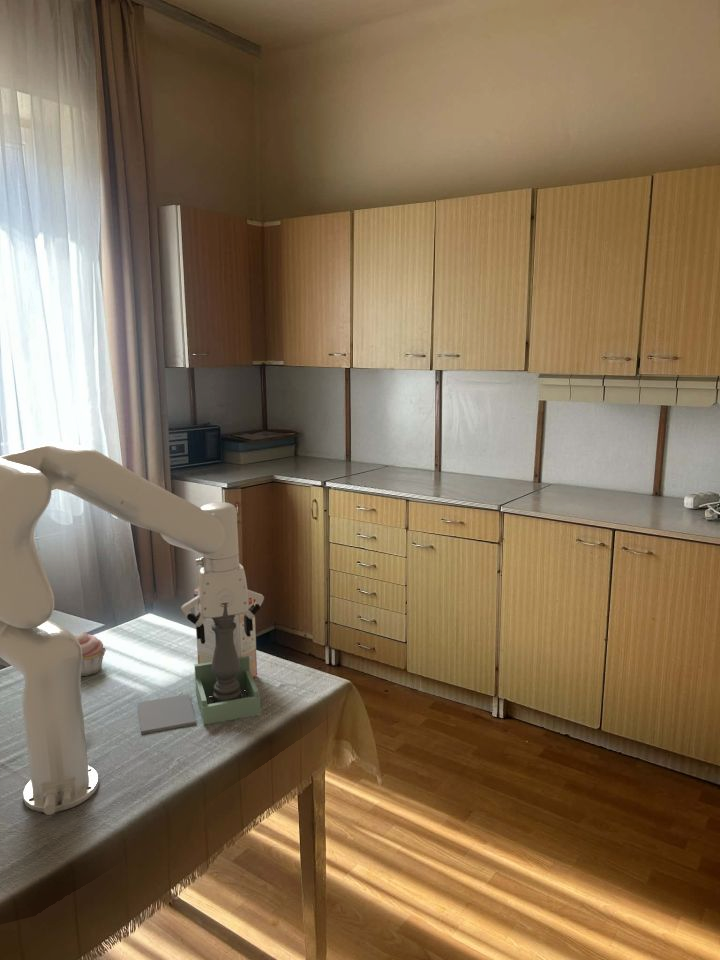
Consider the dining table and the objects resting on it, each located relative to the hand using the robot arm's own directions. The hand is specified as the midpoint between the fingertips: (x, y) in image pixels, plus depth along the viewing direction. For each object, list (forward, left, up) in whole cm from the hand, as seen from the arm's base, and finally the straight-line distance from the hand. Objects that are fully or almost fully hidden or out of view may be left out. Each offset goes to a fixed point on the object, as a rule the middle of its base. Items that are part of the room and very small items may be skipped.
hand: (225, 637), depth 156 cm
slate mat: (+1, +13, -16) cm, 21 cm away
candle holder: (0, 0, -16) cm, 16 cm away
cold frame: (0, 0, -16) cm, 16 cm away
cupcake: (+28, +29, -16) cm, 43 cm away
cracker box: (+15, -2, -16) cm, 22 cm away
